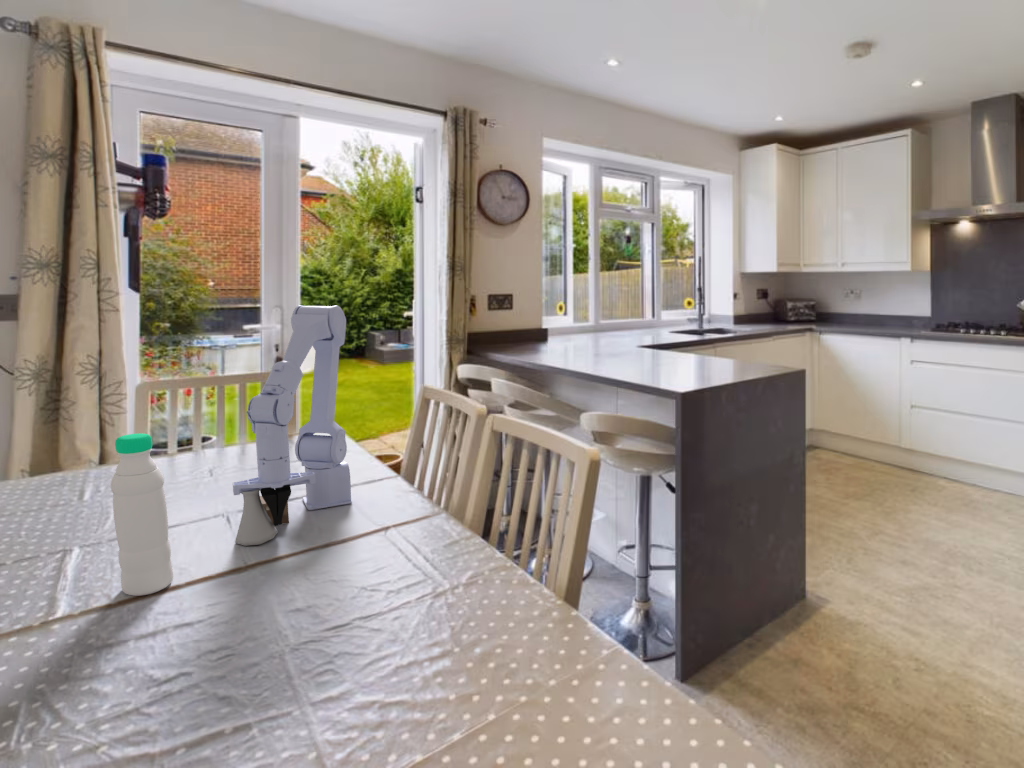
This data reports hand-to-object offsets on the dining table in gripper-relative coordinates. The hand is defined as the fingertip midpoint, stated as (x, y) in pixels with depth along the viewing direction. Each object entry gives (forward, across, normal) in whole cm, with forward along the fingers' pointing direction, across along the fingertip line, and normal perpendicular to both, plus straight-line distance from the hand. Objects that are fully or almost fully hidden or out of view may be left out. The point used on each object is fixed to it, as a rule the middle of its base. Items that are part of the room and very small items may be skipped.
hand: (277, 523), depth 111 cm
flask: (+2, -4, 0) cm, 5 cm away
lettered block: (+2, 0, +8) cm, 8 cm away
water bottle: (+3, -21, -11) cm, 24 cm away
